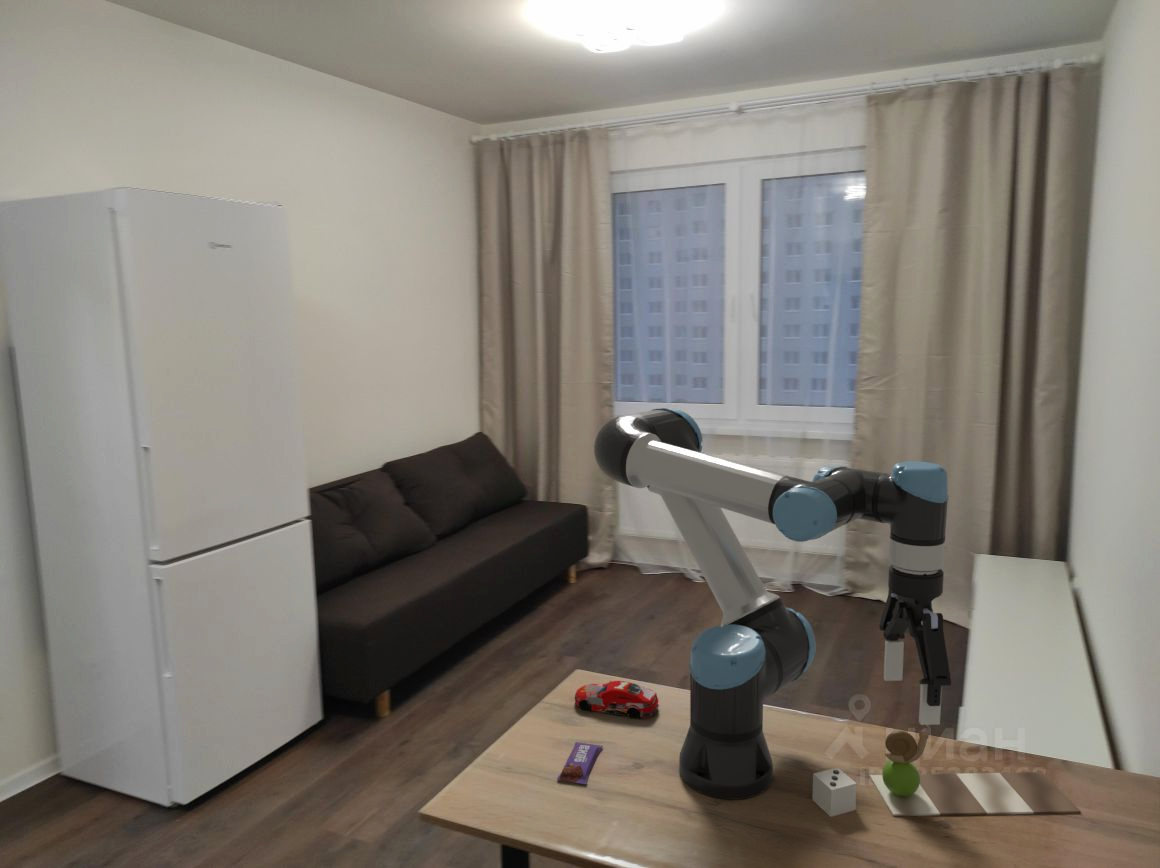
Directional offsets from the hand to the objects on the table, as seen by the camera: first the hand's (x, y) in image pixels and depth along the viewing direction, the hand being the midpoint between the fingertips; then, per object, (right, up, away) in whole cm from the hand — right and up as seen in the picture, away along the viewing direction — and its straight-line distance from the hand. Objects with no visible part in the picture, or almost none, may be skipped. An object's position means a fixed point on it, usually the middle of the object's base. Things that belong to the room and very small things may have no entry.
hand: (910, 700), depth 122 cm
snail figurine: (0, -16, +3) cm, 16 cm away
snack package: (-50, -16, +13) cm, 54 cm away
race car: (-43, -12, +32) cm, 55 cm away
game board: (+11, -16, +3) cm, 19 cm away
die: (-11, -16, +1) cm, 20 cm away
